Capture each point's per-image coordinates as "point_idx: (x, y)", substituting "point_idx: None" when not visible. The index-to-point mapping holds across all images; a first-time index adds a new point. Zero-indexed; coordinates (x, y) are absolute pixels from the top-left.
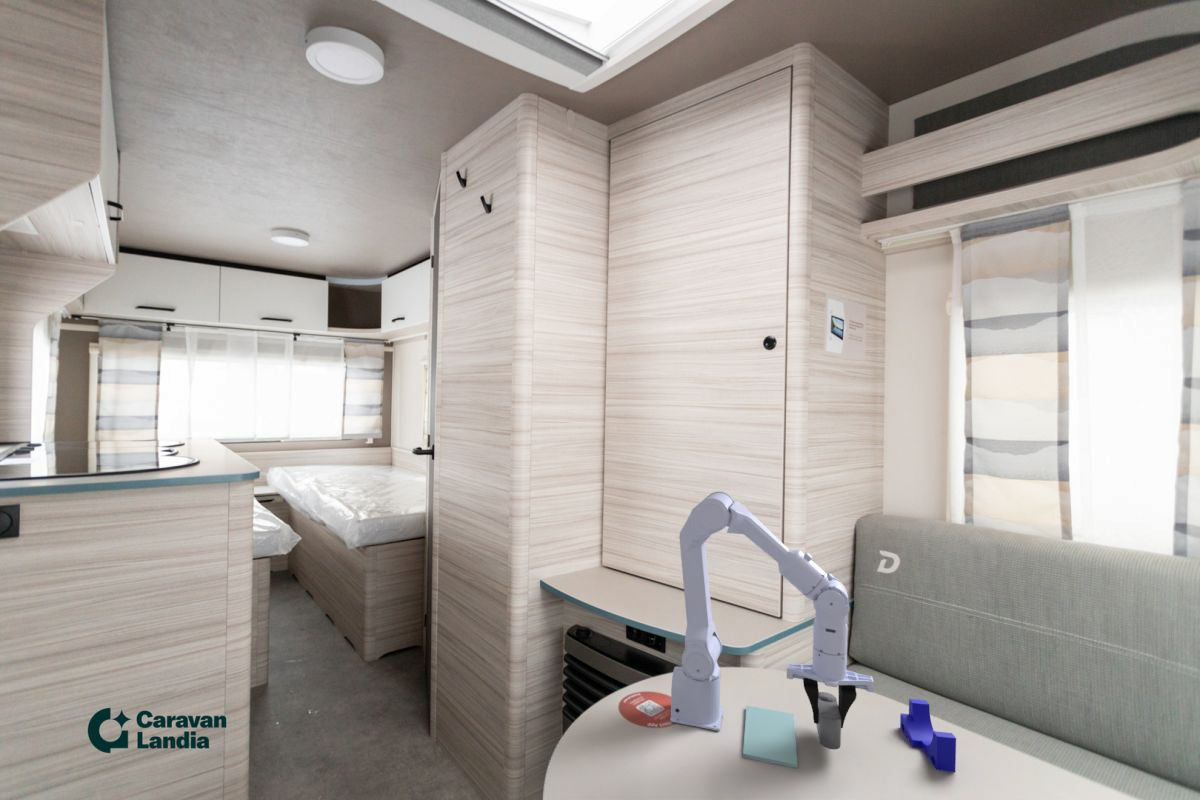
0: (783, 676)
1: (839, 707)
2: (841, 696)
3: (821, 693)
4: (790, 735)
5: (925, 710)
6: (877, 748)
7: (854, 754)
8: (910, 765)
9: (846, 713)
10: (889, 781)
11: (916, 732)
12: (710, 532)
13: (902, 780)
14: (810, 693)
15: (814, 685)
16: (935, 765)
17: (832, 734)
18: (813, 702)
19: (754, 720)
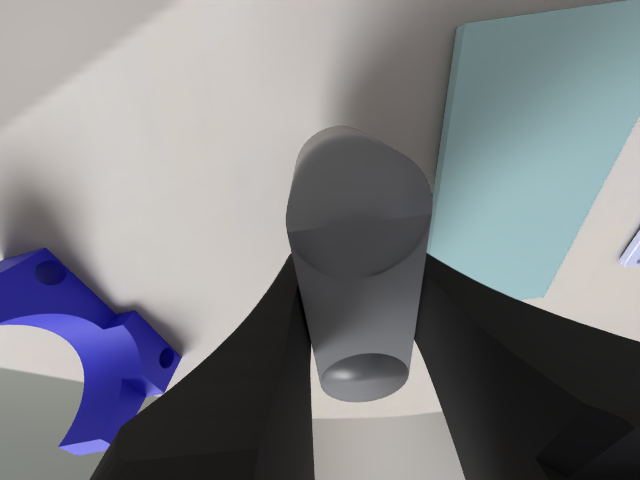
0: (415, 405)
1: (303, 334)
2: (278, 422)
3: (382, 391)
4: (449, 216)
5: (81, 422)
6: (207, 271)
7: (259, 219)
8: (109, 237)
9: (260, 300)
10: (130, 118)
11: (120, 350)
12: None
13: (97, 147)
14: (628, 356)
15: (592, 478)
16: (42, 257)
17: (335, 137)
18: (487, 300)
19: (547, 242)
